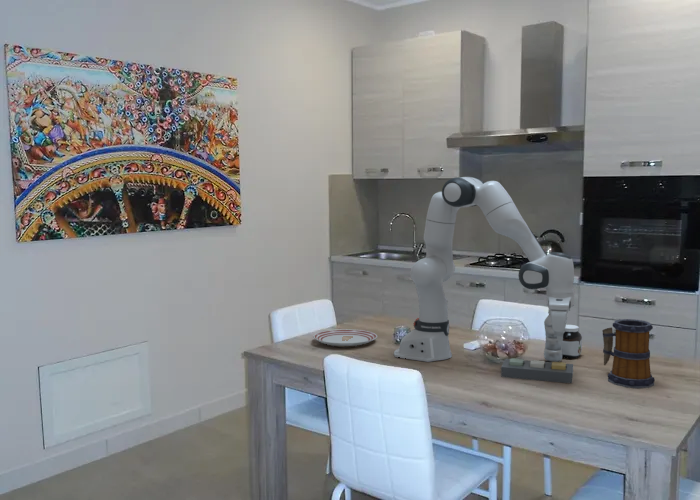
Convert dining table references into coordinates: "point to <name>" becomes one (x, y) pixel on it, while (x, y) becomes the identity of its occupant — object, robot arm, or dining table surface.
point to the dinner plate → (336, 335)
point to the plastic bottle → (551, 342)
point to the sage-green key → (516, 362)
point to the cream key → (537, 364)
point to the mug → (629, 353)
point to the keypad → (537, 372)
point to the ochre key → (559, 365)
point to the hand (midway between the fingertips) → (560, 340)
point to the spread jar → (571, 342)
